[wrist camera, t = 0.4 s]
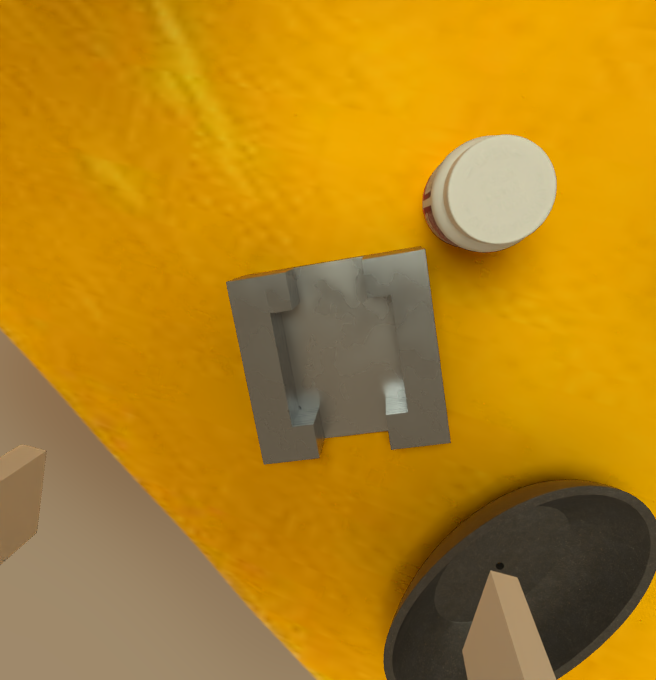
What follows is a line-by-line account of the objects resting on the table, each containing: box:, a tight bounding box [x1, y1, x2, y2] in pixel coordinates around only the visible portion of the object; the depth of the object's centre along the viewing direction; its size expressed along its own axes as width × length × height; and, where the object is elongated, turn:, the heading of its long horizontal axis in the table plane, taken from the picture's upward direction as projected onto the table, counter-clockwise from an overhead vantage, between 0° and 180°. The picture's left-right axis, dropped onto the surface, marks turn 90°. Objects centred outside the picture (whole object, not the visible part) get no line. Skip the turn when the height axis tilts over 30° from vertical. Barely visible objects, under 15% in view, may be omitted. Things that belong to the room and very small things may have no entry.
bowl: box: [384, 480, 656, 680], centre depth 39 cm, size 12×22×6 cm, turn 139°
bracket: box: [226, 246, 451, 464], centre depth 37 cm, size 13×13×4 cm
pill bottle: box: [423, 135, 556, 252], centre depth 31 cm, size 6×6×11 cm
